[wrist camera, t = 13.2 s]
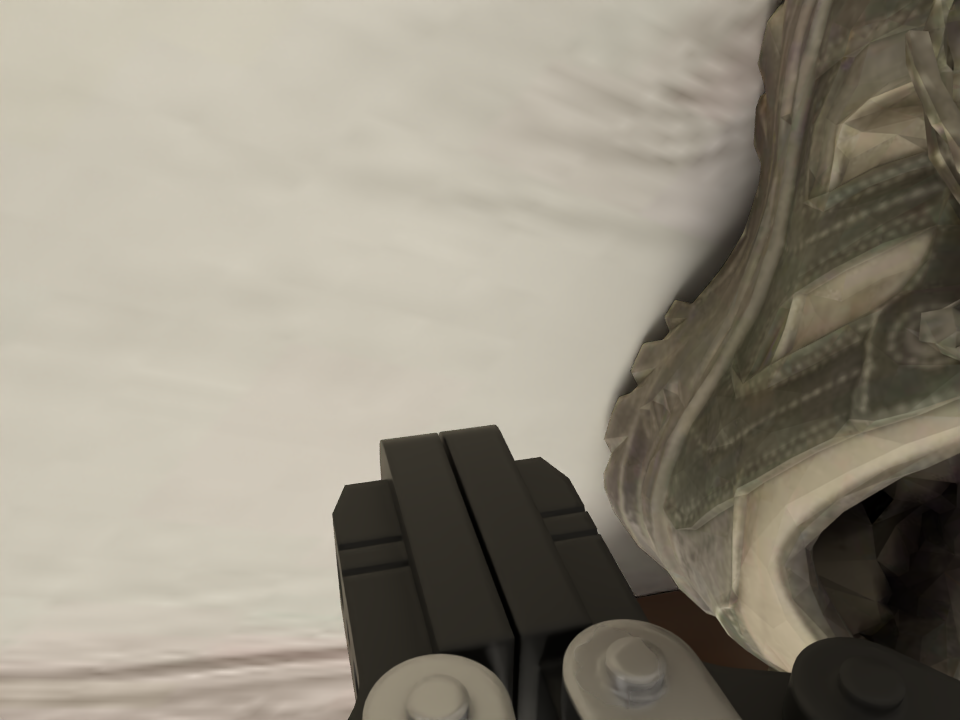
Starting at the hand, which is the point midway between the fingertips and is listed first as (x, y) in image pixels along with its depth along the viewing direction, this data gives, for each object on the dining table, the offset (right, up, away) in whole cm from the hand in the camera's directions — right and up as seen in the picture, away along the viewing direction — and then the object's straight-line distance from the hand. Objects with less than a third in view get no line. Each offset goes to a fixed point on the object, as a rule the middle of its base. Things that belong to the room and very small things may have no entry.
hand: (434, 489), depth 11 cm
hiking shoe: (+9, +6, +9) cm, 15 cm away
